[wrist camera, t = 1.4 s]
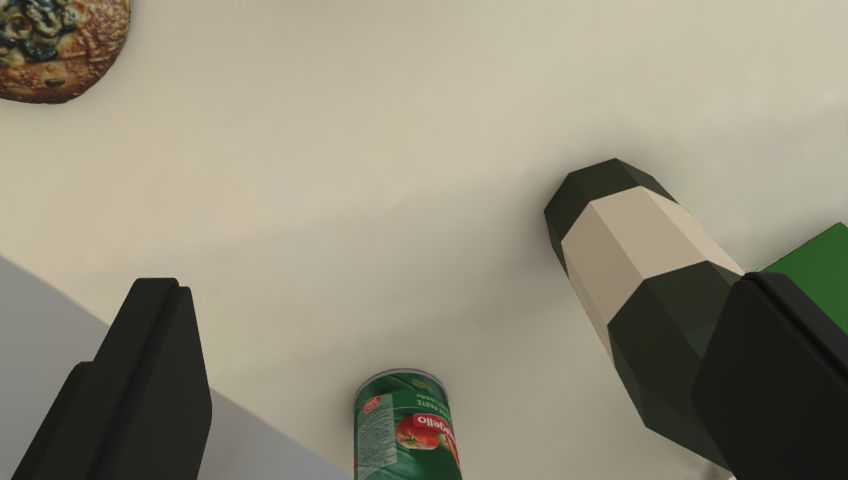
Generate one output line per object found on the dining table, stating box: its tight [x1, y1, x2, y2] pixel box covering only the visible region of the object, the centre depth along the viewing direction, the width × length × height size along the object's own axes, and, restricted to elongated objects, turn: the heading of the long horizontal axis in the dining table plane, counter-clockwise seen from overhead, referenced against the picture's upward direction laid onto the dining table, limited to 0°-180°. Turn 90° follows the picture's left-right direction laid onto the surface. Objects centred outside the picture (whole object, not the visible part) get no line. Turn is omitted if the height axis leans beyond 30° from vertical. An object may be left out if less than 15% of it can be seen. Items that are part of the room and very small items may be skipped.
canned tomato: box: [353, 369, 462, 480], centre depth 46 cm, size 8×8×11 cm
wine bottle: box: [544, 158, 745, 472], centre depth 30 cm, size 8×8×30 cm
